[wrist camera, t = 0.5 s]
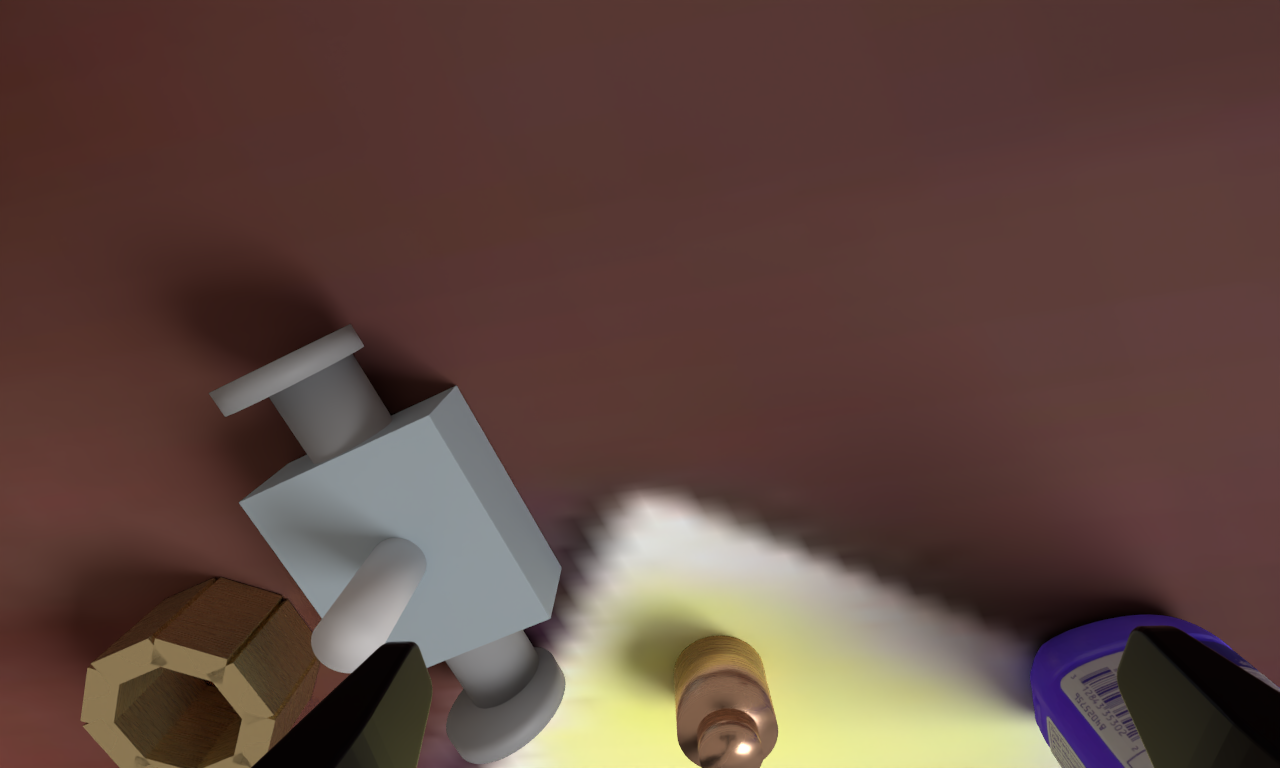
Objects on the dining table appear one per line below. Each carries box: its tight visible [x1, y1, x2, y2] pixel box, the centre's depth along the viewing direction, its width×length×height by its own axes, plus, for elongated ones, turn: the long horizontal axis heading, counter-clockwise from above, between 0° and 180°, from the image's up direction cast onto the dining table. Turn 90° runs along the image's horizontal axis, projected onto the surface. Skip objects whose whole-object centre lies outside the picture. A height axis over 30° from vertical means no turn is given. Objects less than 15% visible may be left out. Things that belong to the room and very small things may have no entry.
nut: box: [81, 577, 320, 768], centre depth 24 cm, size 6×6×4 cm
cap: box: [674, 636, 778, 768], centre depth 24 cm, size 4×4×4 cm
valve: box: [209, 324, 565, 764], centre depth 21 cm, size 15×7×7 cm, turn 25°
